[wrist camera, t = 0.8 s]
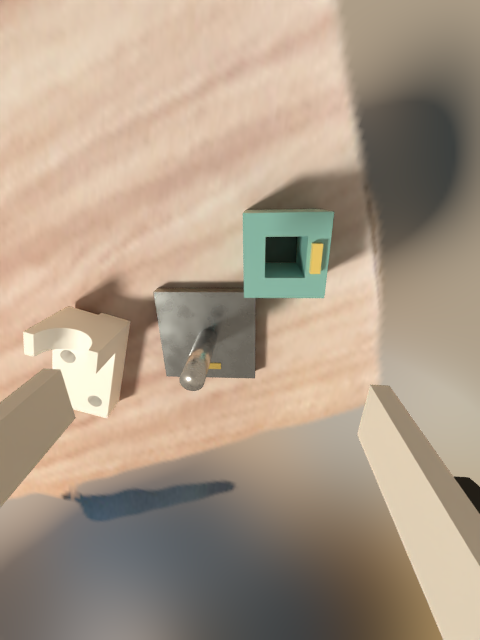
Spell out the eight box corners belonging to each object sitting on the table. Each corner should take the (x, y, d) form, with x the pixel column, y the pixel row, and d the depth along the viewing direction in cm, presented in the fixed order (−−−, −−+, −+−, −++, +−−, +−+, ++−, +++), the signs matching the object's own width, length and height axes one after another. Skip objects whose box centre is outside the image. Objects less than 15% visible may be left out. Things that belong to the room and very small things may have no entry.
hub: (245, 209, 26) (242, 213, 20) (318, 208, 26) (336, 211, 20) (246, 279, 29) (243, 300, 23) (311, 279, 29) (325, 300, 23)
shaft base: (158, 287, 30) (118, 323, 22) (255, 288, 30) (254, 324, 21) (170, 369, 35) (141, 425, 26) (255, 371, 34) (254, 429, 26)
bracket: (73, 303, 32) (23, 331, 25) (131, 320, 33) (97, 352, 26) (69, 385, 38) (27, 428, 31) (119, 399, 38) (89, 444, 31)
